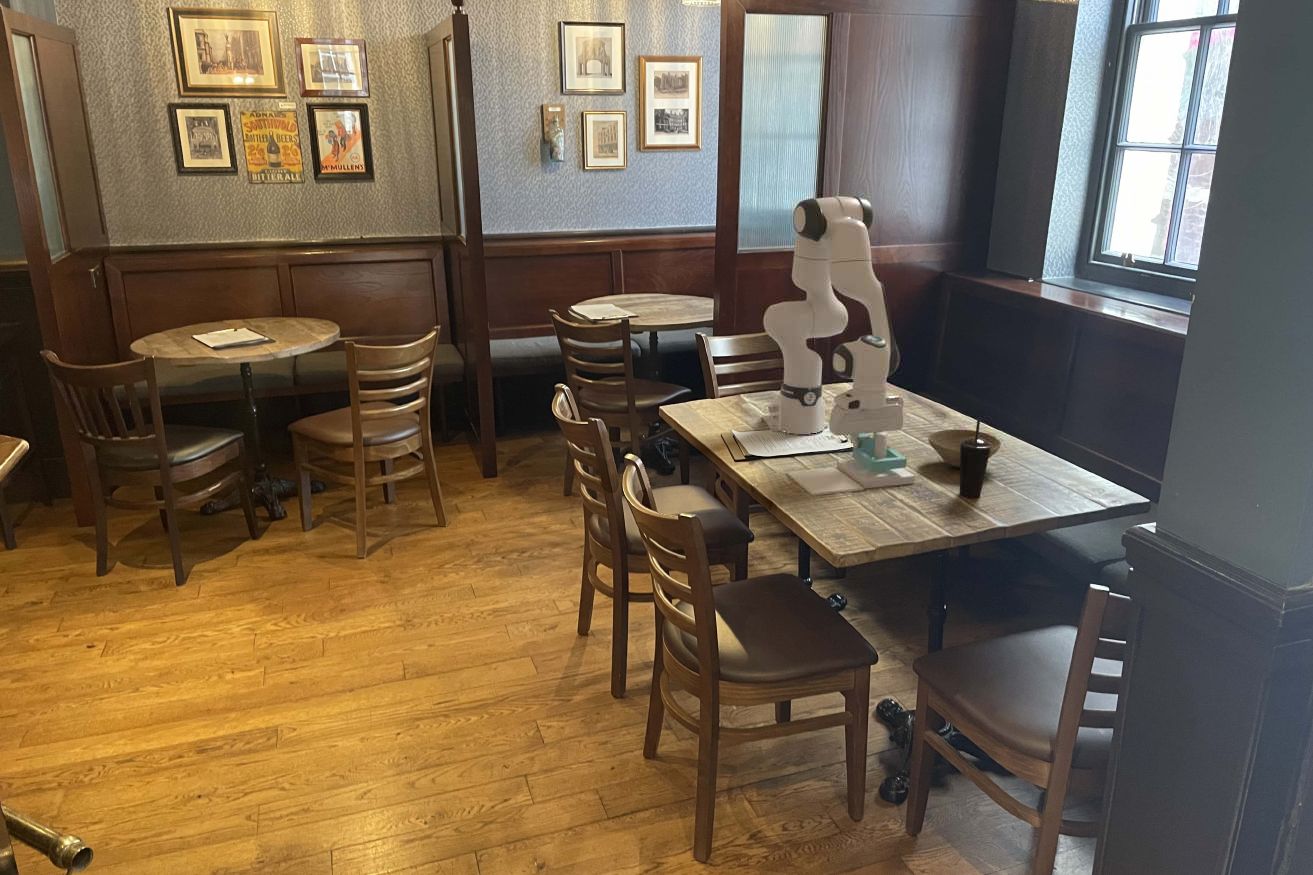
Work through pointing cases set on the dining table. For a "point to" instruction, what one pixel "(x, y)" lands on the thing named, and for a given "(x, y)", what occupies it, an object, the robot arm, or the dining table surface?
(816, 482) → the mat
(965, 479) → the drinking cup
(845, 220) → the robot arm
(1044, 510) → the dining table surface
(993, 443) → the bowl
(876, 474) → the post stand
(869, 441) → the teal square ring handle
